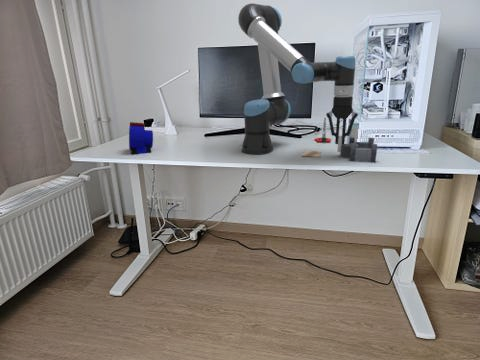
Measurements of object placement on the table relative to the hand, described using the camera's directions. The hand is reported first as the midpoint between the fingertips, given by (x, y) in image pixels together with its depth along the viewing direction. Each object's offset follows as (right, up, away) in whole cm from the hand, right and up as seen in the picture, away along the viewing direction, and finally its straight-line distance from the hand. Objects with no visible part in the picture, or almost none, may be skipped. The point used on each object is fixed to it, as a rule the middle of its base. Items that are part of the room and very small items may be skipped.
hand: (339, 151), depth 137 cm
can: (+12, +3, +14) cm, 19 cm away
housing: (+9, -3, -2) cm, 9 cm away
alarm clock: (-93, +2, +22) cm, 96 cm away
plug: (+4, -2, 0) cm, 5 cm away
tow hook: (0, +8, +28) cm, 29 cm away
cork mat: (-11, -1, +4) cm, 12 cm away
